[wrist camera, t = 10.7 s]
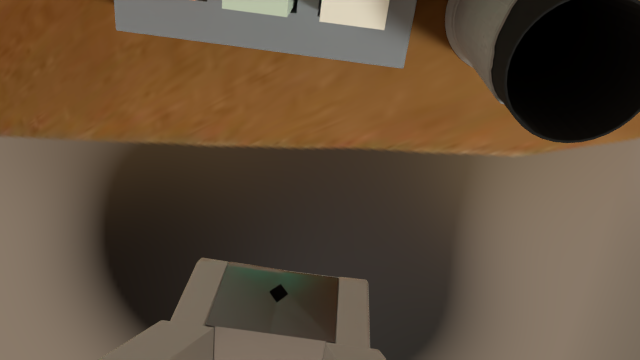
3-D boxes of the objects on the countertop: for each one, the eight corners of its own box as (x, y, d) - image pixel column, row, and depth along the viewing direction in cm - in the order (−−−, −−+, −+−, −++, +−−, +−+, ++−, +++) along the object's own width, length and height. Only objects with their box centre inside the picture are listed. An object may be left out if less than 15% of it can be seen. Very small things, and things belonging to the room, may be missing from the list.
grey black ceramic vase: (451, -49, 36) (505, -24, 23) (659, -52, 35) (840, -26, 22) (439, 72, 40) (479, 153, 27) (625, 73, 39) (761, 157, 26)
